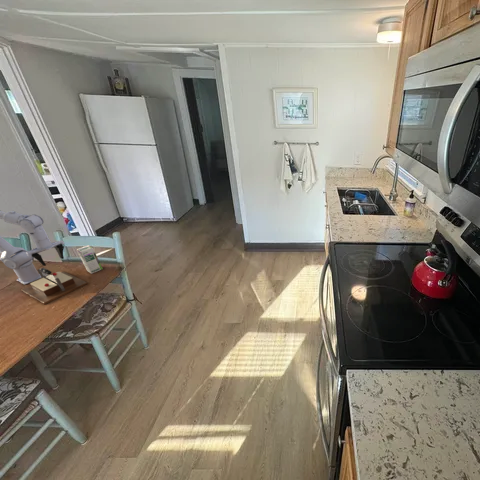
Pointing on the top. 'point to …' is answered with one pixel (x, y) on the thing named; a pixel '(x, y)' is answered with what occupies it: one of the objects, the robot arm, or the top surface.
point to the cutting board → (53, 296)
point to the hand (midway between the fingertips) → (53, 261)
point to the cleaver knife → (48, 274)
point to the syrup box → (89, 259)
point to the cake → (52, 284)
